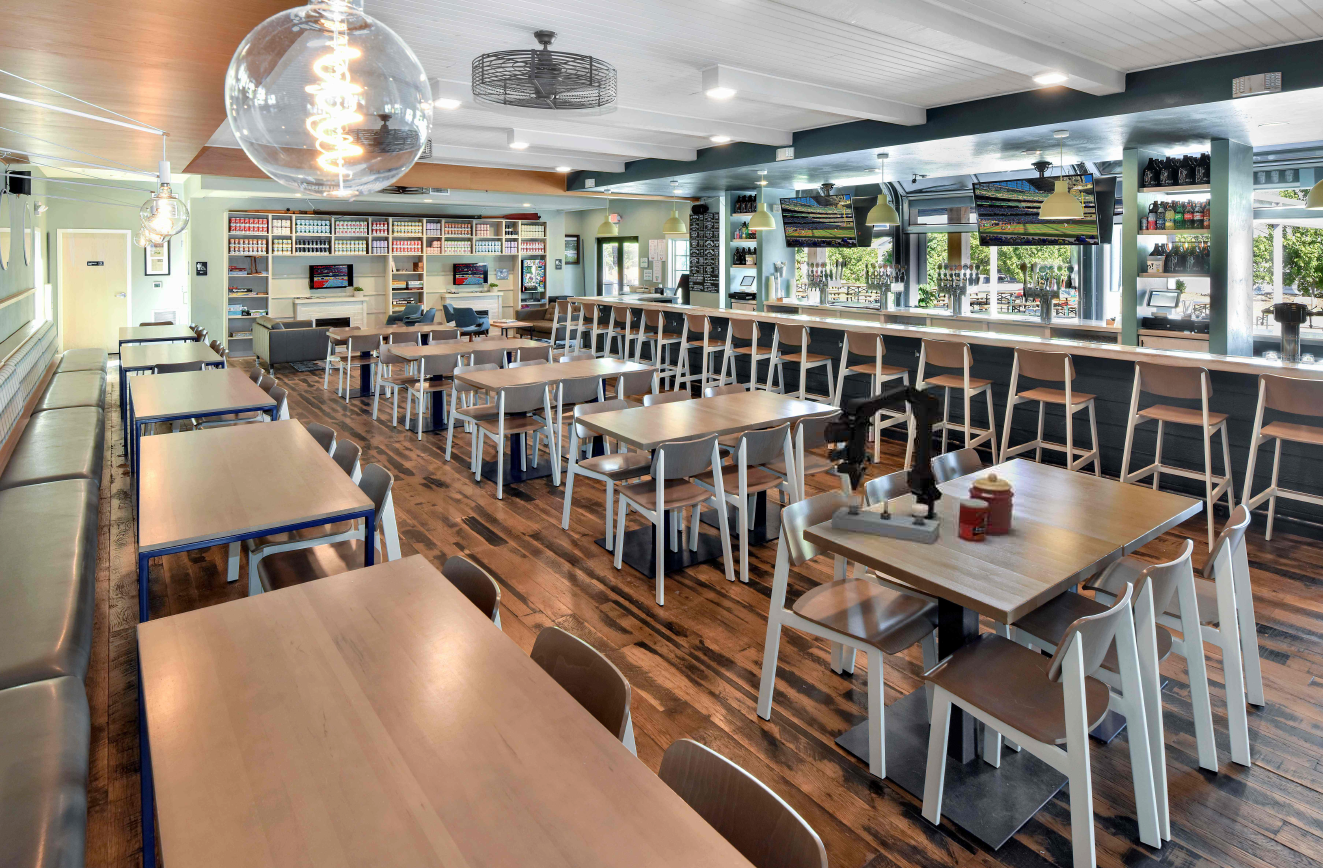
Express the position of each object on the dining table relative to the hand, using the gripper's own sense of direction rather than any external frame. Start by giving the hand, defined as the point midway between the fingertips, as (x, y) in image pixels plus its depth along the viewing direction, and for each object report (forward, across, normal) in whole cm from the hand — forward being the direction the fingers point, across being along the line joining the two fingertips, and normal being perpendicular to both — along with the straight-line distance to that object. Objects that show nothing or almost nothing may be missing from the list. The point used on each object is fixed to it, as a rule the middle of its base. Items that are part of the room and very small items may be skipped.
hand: (854, 490), depth 243 cm
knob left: (+8, 0, 0) cm, 8 cm away
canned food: (+12, -7, +34) cm, 37 cm away
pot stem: (+8, 0, +10) cm, 13 cm away
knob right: (+8, 0, +20) cm, 21 cm away
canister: (+12, -18, +37) cm, 43 cm away
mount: (+12, 0, +10) cm, 15 cm away
